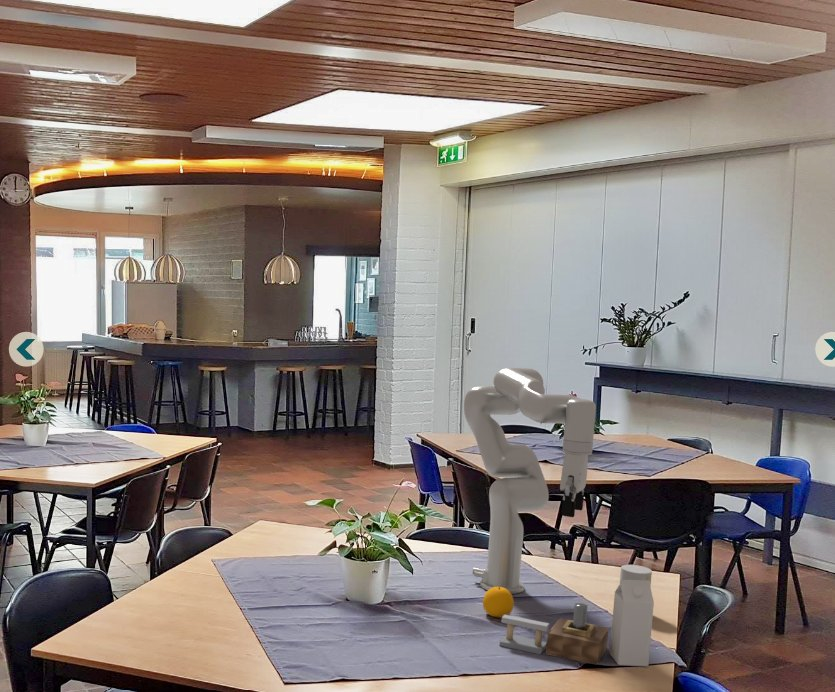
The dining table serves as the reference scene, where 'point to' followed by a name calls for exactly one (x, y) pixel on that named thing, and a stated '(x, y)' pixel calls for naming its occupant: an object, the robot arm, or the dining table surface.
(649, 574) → the light grey cylinder
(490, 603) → the orange fruit
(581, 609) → the pin
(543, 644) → the peg rack
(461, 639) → the dining table surface
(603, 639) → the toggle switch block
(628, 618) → the milk carton
